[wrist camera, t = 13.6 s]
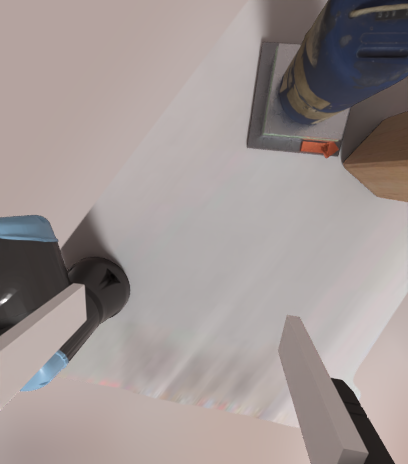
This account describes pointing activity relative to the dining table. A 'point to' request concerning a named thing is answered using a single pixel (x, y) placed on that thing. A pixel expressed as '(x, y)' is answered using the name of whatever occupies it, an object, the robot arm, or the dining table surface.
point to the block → (383, 159)
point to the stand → (277, 122)
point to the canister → (346, 58)
